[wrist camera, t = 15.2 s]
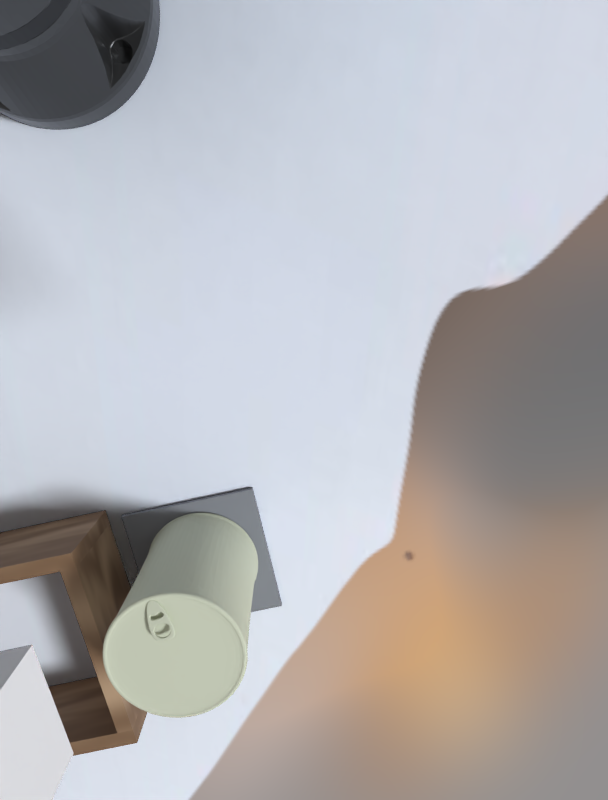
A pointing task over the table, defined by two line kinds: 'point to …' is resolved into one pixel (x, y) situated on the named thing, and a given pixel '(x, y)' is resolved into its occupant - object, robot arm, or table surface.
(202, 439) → the table surface
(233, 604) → the can
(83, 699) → the crate
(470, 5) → the table surface
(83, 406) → the table surface
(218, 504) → the mat
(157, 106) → the table surface
